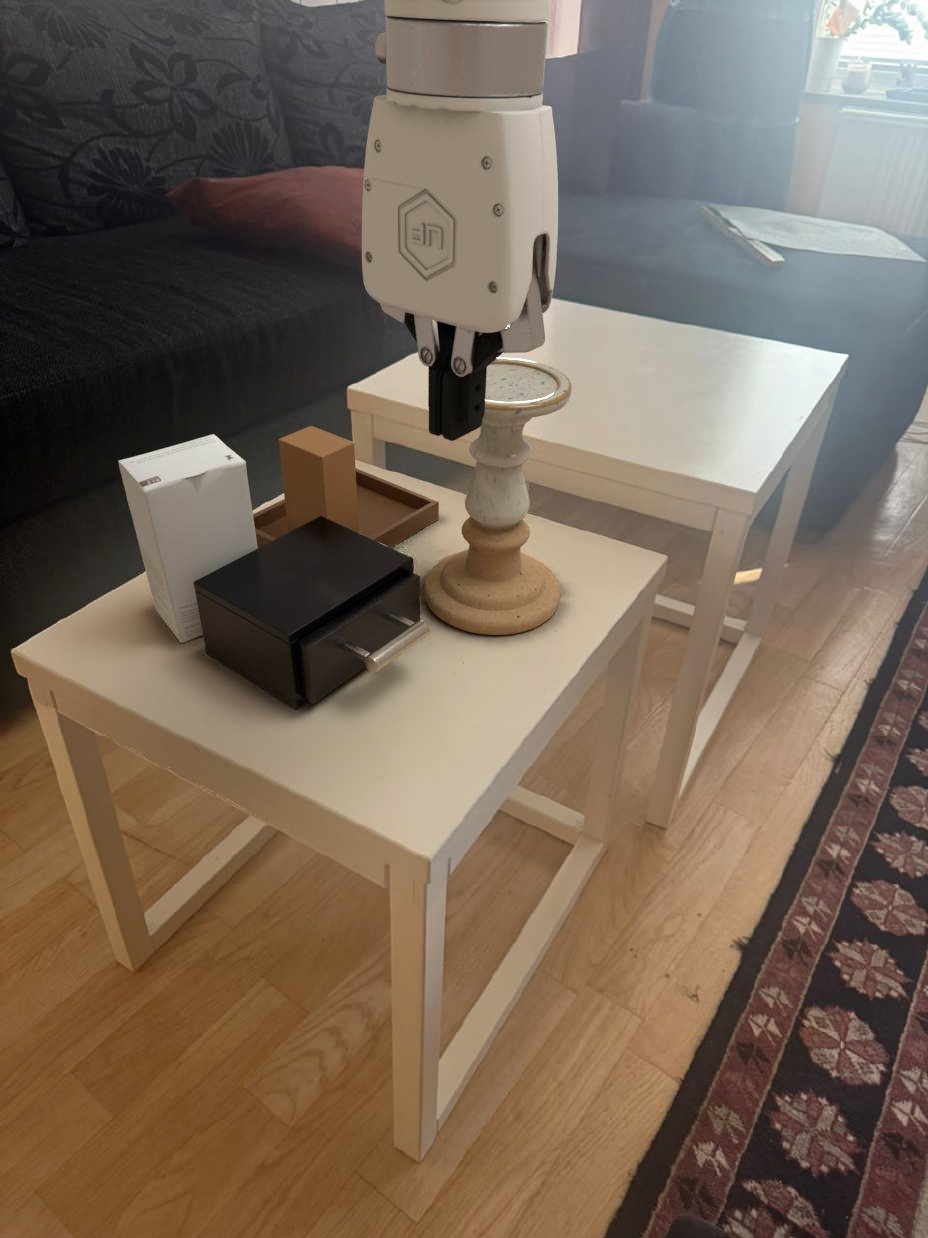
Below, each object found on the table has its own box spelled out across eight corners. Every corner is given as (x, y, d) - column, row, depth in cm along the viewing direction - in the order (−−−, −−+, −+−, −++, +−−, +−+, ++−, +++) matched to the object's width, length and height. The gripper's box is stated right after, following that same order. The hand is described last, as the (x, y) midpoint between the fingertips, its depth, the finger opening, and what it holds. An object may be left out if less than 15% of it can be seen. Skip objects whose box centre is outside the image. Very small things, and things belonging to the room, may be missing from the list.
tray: (326, 586, 79) (324, 567, 78) (237, 541, 85) (234, 522, 84) (438, 519, 89) (439, 501, 88) (352, 483, 95) (352, 466, 94)
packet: (329, 565, 81) (322, 457, 74) (289, 545, 83) (278, 438, 77) (359, 548, 83) (354, 442, 77) (319, 529, 86) (310, 425, 79)
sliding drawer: (455, 645, 71) (456, 592, 68) (348, 726, 63) (345, 669, 60) (339, 587, 77) (335, 535, 74) (229, 653, 69) (220, 598, 66)
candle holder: (398, 610, 76) (394, 389, 64) (462, 547, 85) (469, 342, 73) (526, 653, 72) (547, 425, 60) (580, 581, 81) (607, 370, 69)
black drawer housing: (414, 628, 74) (413, 557, 70) (297, 710, 65) (288, 635, 61) (326, 583, 79) (320, 515, 75) (206, 654, 71) (192, 581, 66)
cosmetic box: (240, 582, 79) (217, 429, 70) (270, 614, 75) (250, 457, 66) (149, 613, 75) (114, 454, 66) (177, 648, 71) (143, 485, 62)
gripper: (296, 58, 42) (321, 415, 53) (554, 84, 35) (522, 491, 46) (398, 54, 47) (402, 382, 58) (643, 76, 40) (596, 446, 51)
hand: (455, 429), depth 52 cm, fingers closed
